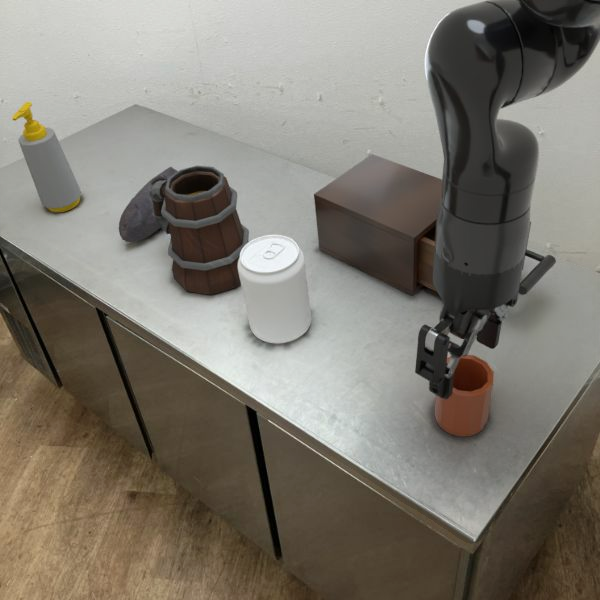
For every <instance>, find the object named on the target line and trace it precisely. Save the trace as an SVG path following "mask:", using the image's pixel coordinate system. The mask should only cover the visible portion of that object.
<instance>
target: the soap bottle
mask: <svg viewBox="0 0 600 600" xmlns="http://www.w3.org/2000/svg"><path fill="white" fill-rule="evenodd" d="M32 106H33V103H32V102H31V101H26V102H25V103H23V104H22V105H21V107H20V108H19V109H18V110H17V111H16V112H15V113H14V114H13V116H12V117H11V119H12V121H17V120H18V119H20V118H23V119H24V120H25V121H26V122H24V124H23V128H24V129H23V131H22V134H21V135H20V136H19V138H18V139H17V140H18V144H19V147H20V149H21V152H22V154H23V157H24V161H25V162H26V166H27V168H28V171H29V173H30V176H31V178H32V181H33V184H34V186H35V189H36V192H37V194H38V197H39V201H40V203H41V205H42V206H44V207H45V208H47V210H49V211H50V212H52V213H64V212H67V211H70V210H72V209H74V208H76V207H77V206H78V205H79V204H80V201H81V196H82V190H81V188H80V185H79V183H78V181H77V178H76V176H75V174H74V172H73V170H72V167H71V165H70V163H69V161H68V158H67V157H66V153H65V151H64V150H63V147H62V145H61V143H60V141H59V139H58V136H57V134H56V132H55V130H54V129H52V128H50V127H46V126H45V125H43V124H40V123H39V120H36V119H33V117H34V115H33V113H32V110H31V107H32Z"/></svg>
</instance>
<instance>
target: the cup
mask: <svg viewBox="0 0 600 600" xmlns="http://www.w3.org/2000/svg"><path fill="white" fill-rule="evenodd" d="M450 358H451V356H447V362H446V363H448V362H449V360H450ZM454 372H455V373H454V383H453V392H452V395H451V396H450V397H449V398H448V399H444V398H441V397H439V396H437V395H435V404H434V405H435V406H434V418H435V421H436V423H437V424H438V425H439V427H440V428H441V429H442V430H443V431H445V432H446V433H448V434H449V435H453V436H456V437H471V436H474V435H477V434H479V433H480V432H481V431H482V430H483V429H484V428H485V427H486V425H487V422H488V421H489V419H488V418H489V413H490V407H491V403H492V402H491V400H492V396H493V395H492V394H493V389H494V382H495V381H494V380H495V379H494V378H495V373H494V372H495V371H494V370H493V369H492V367H491V366H490V365H489V363H488V362H487V361H485V360H483V359H482V358H480V357H478V356H477V355H475V354H468V355H467V356H464V357H461V358H460V360H459V362H458V365H457V367H456V369H455V371H454Z"/></svg>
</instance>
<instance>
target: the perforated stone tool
mask: <svg viewBox="0 0 600 600" xmlns="http://www.w3.org/2000/svg"><path fill="white" fill-rule="evenodd" d="M178 171H179V170H177V169H175V168H174V167H173V166H170V167H168V168H166V169H165V170H163V171H162V172H160V173H158V174H157V175H156V176H154V177H153V178H151V179H149V181H147V183H146V184H145V185H143V186H142V187H141V188H140V189H139V191H137V193H136V194H135V195H134V196H133V197H132V198H131V200H130V201H129V202H128V204H127V205H126V206H125V208H124V210H123V211H122V213H121V215H120V218H119V222H118V232H119V233H118V234H119V236H120V238H121V239H122V241H124V242H126V243H136V242H139V241H143V240H145V239H147V238H148V237H150V236H151V235H153V234H154V233H155V232H157V231H158V230H160V229H162V228H161V227H160V226H159V225H158V224H157V222H156V221H155V219H154V217H153V215H152V214H153V211H154V207H153V201H152V199H151V198H150V197H149V194H150V191H151V187H152V185H153V184H154V183H156V182H158V181H160V180H162V181H164V180H166V181H167V180H168V178H169V177H171V176H172V175H174V174H175V173H176V172H178Z"/></svg>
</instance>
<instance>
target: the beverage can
mask: <svg viewBox="0 0 600 600" xmlns="http://www.w3.org/2000/svg"><path fill="white" fill-rule="evenodd" d="M238 272H239V277H240V282H241V284H240V286H241V291H242V295H243V301H244V305H245V309H246V313H247V319H248V323H249V327H250V331H251V332H252V333H253V334H254V336H255V337H256V338H258V339H259V340H261V341H264V342H265V343H271V344H284V343H290V342H292V341H295V340H297V339H298V338H300V337H301V336H303V335H304V334H305V333H306V332H307V331H308V330H309V328H310V326H311V325H312V311H311V303H310V293H309V286H308V278H307V277H308V276H307V268H306V260H305V255H304V253H303V251H302V249H301V248H300V247H299V244H298V243H297V242H296V241H295V240H294V239H292V238H291V237H288V236H285V235H282V234H265V235H262V236H258V237H255V238H253V239H251V240H250V241H249V242H248V243H247V244H246V245H245V246H244V247H243V248H242V250H241V252H240V258H239V260H238Z"/></svg>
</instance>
